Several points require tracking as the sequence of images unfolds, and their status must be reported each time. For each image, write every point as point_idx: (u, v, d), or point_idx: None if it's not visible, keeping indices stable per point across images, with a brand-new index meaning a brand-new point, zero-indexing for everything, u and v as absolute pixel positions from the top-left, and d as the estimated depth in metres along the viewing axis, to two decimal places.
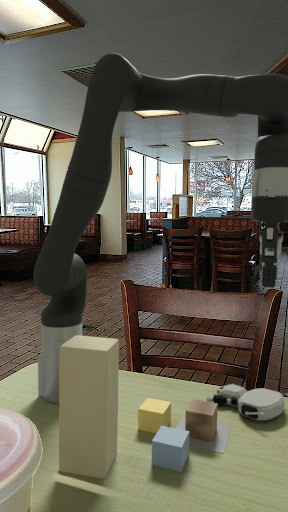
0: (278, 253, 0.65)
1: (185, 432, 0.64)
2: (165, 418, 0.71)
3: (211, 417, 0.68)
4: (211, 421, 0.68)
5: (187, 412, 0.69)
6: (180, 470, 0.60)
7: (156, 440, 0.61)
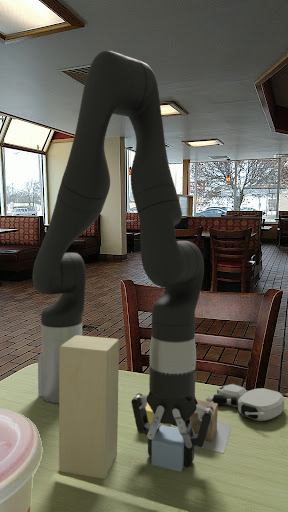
0: None
1: None
2: None
3: None
4: (211, 421, 0.68)
5: None
6: (180, 469, 0.60)
7: (156, 439, 0.61)
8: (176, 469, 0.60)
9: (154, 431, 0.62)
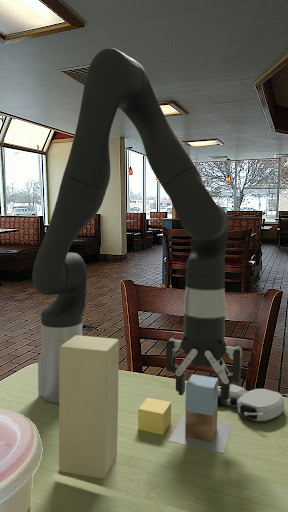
0: None
1: (214, 379, 0.71)
2: (165, 418, 0.71)
3: (211, 417, 0.68)
4: (211, 421, 0.68)
5: (187, 412, 0.69)
6: (211, 409, 0.68)
7: (189, 384, 0.69)
8: (208, 409, 0.68)
9: (182, 370, 0.70)
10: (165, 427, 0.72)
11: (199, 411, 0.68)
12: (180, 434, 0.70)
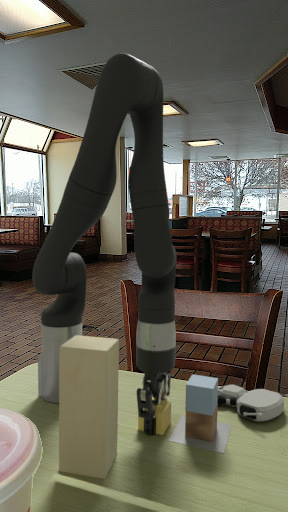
0: None
1: (214, 379, 0.71)
2: (165, 418, 0.71)
3: (211, 417, 0.68)
4: (211, 421, 0.68)
5: (187, 412, 0.69)
6: (211, 409, 0.68)
7: (189, 384, 0.69)
8: (208, 409, 0.68)
9: (156, 408, 0.70)
10: (165, 427, 0.72)
11: (199, 411, 0.68)
12: (180, 434, 0.70)
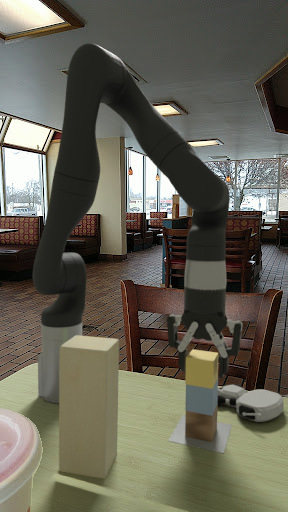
0: None
1: None
2: (193, 367, 0.68)
3: (211, 417, 0.68)
4: (211, 421, 0.68)
5: (187, 412, 0.69)
6: (211, 409, 0.68)
7: None
8: (208, 409, 0.68)
9: (185, 345, 0.70)
10: (193, 377, 0.68)
11: (199, 411, 0.68)
12: (180, 434, 0.70)
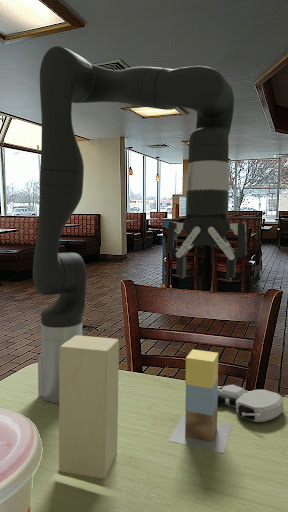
0: None
1: None
2: (193, 367, 0.68)
3: (211, 417, 0.68)
4: (211, 421, 0.68)
5: (187, 412, 0.69)
6: (211, 409, 0.68)
7: None
8: (208, 409, 0.68)
9: (183, 250, 0.69)
10: (193, 377, 0.68)
11: (199, 411, 0.68)
12: (180, 434, 0.70)
